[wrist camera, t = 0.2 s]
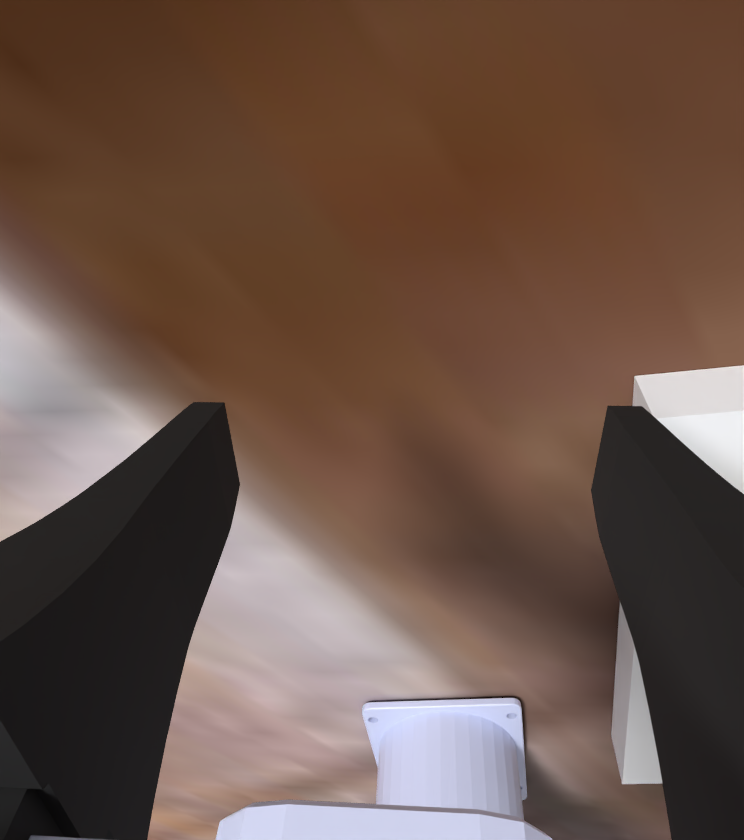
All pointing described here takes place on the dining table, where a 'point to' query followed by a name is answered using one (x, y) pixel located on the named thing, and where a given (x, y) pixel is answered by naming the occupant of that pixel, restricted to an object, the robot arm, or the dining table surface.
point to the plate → (733, 460)
